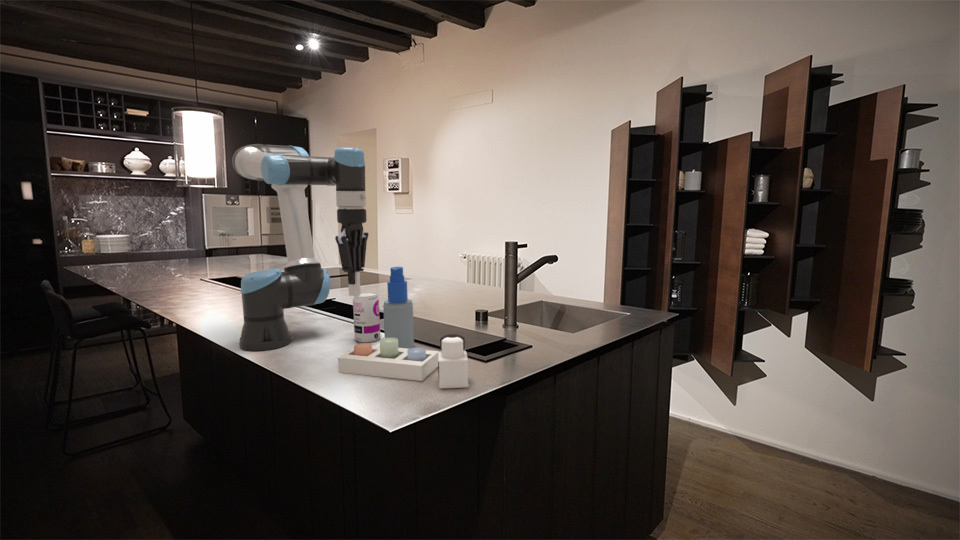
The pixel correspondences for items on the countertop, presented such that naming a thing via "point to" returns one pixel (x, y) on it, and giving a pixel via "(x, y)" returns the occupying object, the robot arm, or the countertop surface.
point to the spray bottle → (398, 311)
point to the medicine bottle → (452, 362)
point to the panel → (388, 365)
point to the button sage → (389, 348)
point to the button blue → (416, 354)
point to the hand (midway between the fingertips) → (354, 295)
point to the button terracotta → (363, 349)
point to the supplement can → (366, 317)
